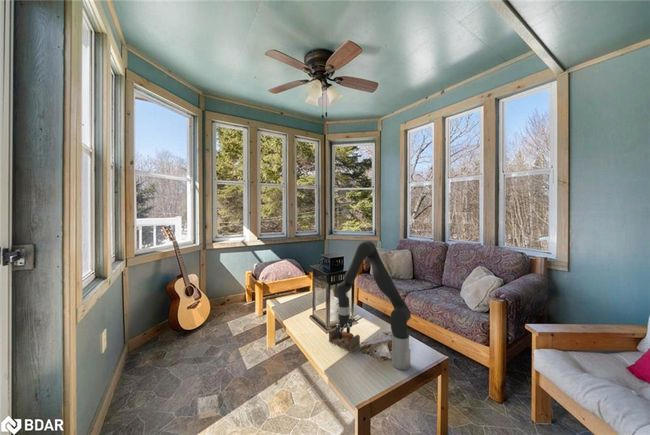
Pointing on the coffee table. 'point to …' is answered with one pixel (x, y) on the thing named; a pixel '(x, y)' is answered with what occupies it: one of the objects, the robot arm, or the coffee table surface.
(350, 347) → the keeper cradle
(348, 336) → the bull figurine
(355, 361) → the coffee table surface
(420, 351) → the coffee table surface
